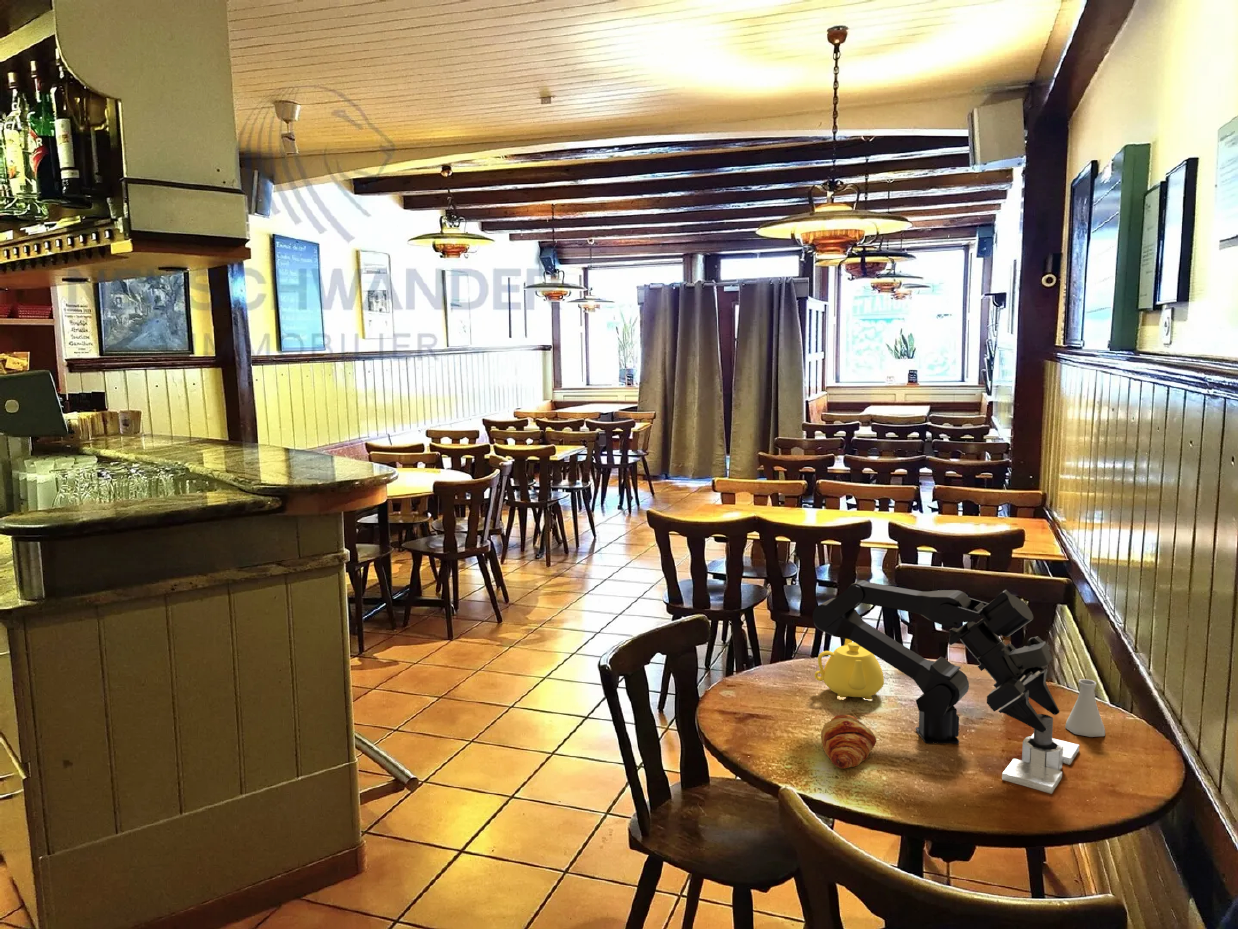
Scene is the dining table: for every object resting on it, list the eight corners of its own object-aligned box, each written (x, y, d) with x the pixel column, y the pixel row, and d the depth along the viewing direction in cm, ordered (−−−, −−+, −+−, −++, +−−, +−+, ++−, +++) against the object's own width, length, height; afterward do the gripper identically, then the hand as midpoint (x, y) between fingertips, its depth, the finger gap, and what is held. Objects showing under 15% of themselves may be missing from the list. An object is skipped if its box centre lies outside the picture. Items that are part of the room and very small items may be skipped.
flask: (1111, 739, 166) (1114, 690, 164) (1070, 737, 167) (1073, 687, 166) (1098, 724, 173) (1101, 676, 171) (1059, 721, 174) (1062, 674, 173)
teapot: (810, 675, 201) (811, 628, 199) (875, 678, 199) (877, 630, 197) (818, 710, 181) (819, 658, 180) (891, 713, 179) (892, 660, 178)
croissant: (835, 742, 174) (816, 707, 174) (881, 725, 171) (862, 689, 171) (827, 791, 154) (807, 750, 154) (880, 772, 151) (858, 731, 151)
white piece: (1002, 779, 151) (1002, 758, 150) (1033, 739, 166) (1034, 719, 166) (1051, 793, 146) (1052, 771, 145) (1079, 750, 161) (1080, 730, 161)
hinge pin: (1036, 768, 155) (1039, 721, 153) (1029, 761, 158) (1031, 714, 156) (1053, 768, 154) (1056, 721, 153) (1046, 761, 157) (1048, 714, 156)
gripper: (1008, 640, 148) (1075, 717, 143) (1037, 614, 163) (1099, 683, 157) (960, 673, 154) (1023, 749, 149) (992, 645, 169) (1050, 713, 163)
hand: (1051, 722), depth 154 cm, fingers open, 9 cm apart
